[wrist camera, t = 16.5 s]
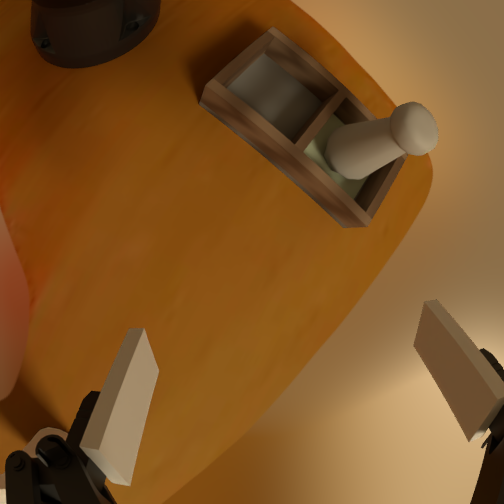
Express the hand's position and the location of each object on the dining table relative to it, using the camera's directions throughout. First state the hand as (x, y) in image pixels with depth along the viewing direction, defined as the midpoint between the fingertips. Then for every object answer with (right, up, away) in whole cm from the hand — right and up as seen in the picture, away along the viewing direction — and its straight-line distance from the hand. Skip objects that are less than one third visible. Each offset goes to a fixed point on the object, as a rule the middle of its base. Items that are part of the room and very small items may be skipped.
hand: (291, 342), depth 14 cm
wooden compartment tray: (+4, +17, +18) cm, 25 cm away
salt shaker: (+8, +14, +19) cm, 25 cm away
